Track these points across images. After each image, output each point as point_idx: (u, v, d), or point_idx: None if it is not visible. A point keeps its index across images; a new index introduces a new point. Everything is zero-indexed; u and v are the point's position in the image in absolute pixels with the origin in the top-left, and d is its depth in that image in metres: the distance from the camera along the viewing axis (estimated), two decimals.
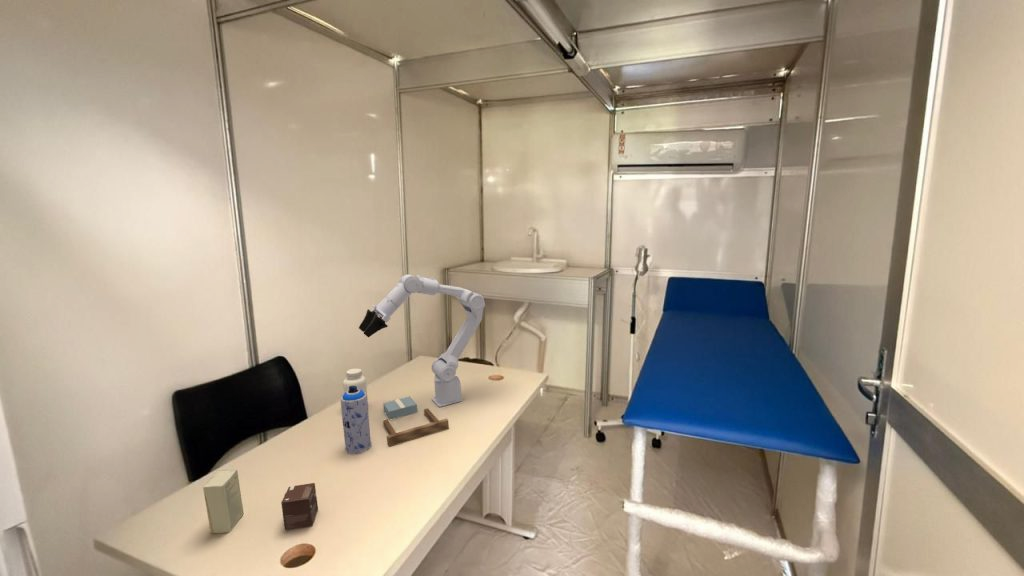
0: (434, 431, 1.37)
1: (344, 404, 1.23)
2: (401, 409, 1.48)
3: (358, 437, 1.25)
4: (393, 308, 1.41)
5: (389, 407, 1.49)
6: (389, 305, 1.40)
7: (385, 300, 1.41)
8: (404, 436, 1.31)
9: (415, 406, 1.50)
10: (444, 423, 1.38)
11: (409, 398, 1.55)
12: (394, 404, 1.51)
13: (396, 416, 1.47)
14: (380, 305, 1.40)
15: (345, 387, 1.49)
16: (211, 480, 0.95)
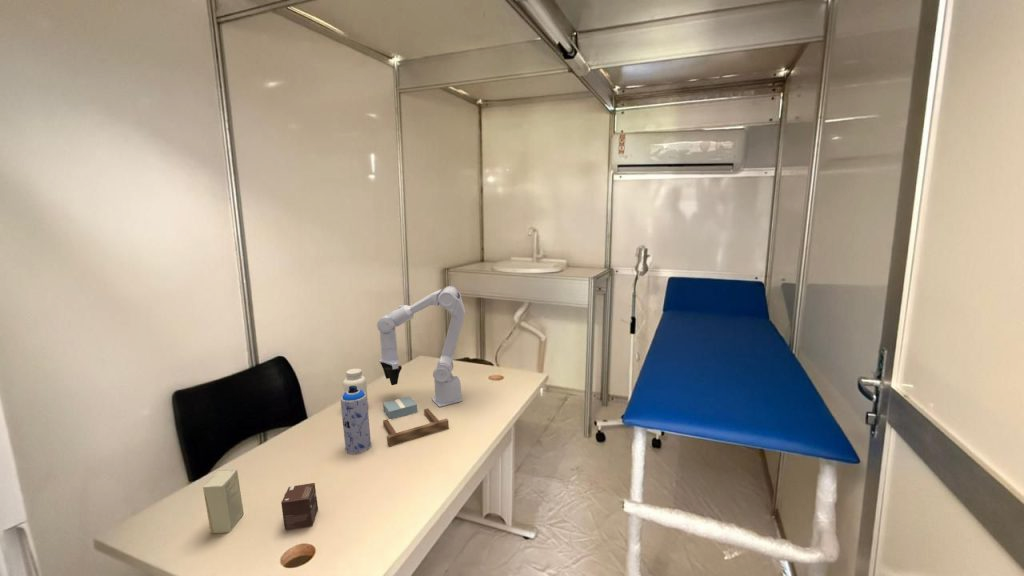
0: (434, 431, 1.37)
1: (344, 404, 1.23)
2: (401, 409, 1.48)
3: (358, 437, 1.25)
4: (393, 351, 1.54)
5: (389, 407, 1.49)
6: (389, 353, 1.53)
7: (383, 351, 1.54)
8: (404, 436, 1.31)
9: (415, 406, 1.50)
10: (444, 423, 1.38)
11: (409, 398, 1.55)
12: (394, 404, 1.51)
13: (396, 416, 1.47)
14: (383, 357, 1.54)
15: (345, 387, 1.49)
16: (211, 480, 0.95)
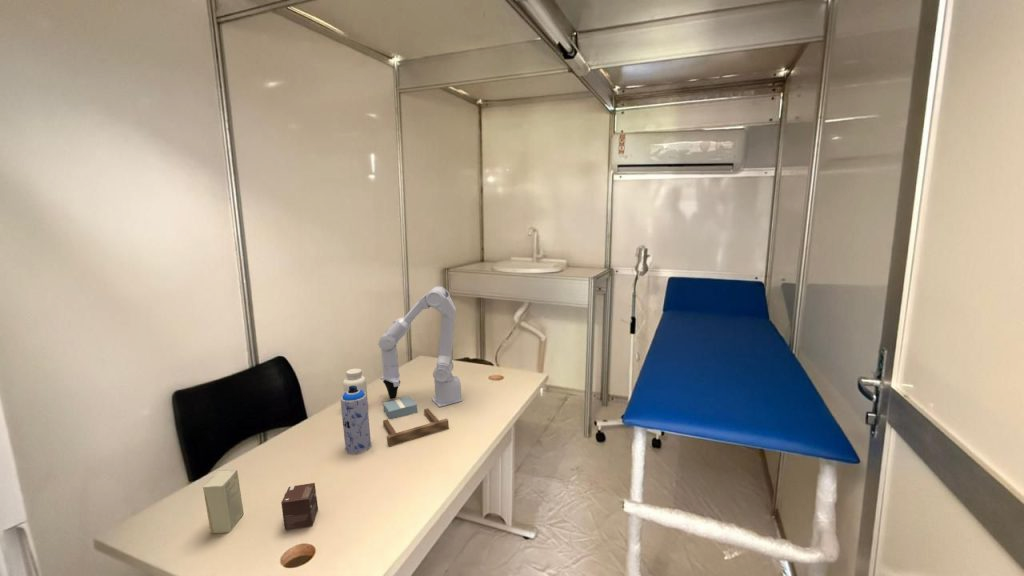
0: (434, 431, 1.37)
1: (344, 404, 1.23)
2: (401, 409, 1.48)
3: (358, 437, 1.25)
4: (395, 368, 1.55)
5: (389, 407, 1.49)
6: (390, 370, 1.55)
7: (384, 368, 1.55)
8: (404, 436, 1.31)
9: (415, 406, 1.50)
10: (444, 423, 1.38)
11: (409, 398, 1.55)
12: (394, 404, 1.51)
13: (396, 416, 1.47)
14: (384, 374, 1.55)
15: (345, 387, 1.49)
16: (211, 480, 0.95)
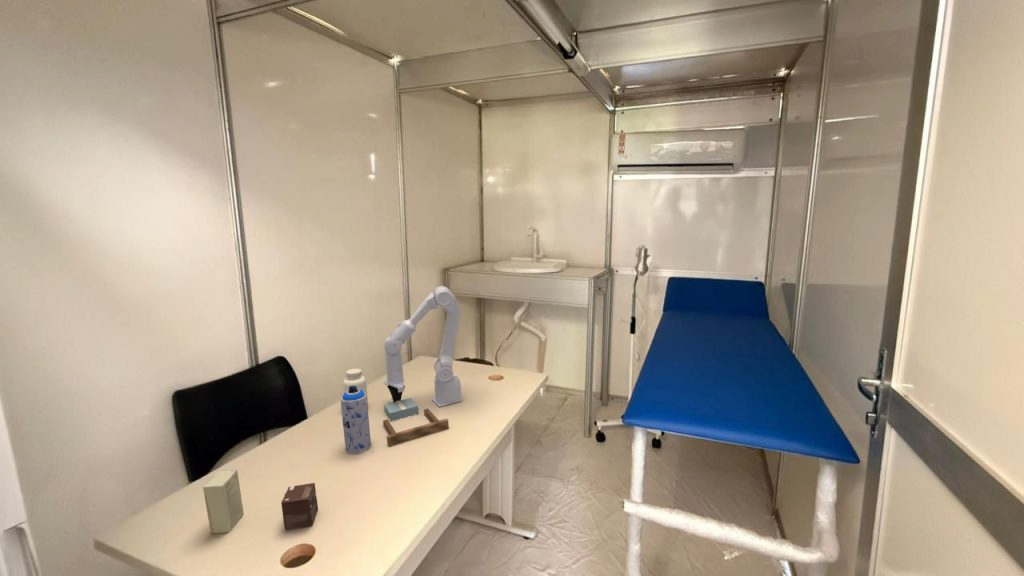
0: (434, 431, 1.37)
1: (344, 404, 1.23)
2: (402, 411, 1.47)
3: (358, 437, 1.25)
4: (399, 373, 1.51)
5: (390, 408, 1.48)
6: (394, 375, 1.50)
7: (388, 373, 1.50)
8: (404, 436, 1.31)
9: (416, 408, 1.49)
10: (444, 423, 1.38)
11: (410, 399, 1.54)
12: (395, 405, 1.50)
13: (397, 418, 1.46)
14: (389, 379, 1.51)
15: (345, 387, 1.49)
16: (211, 480, 0.95)
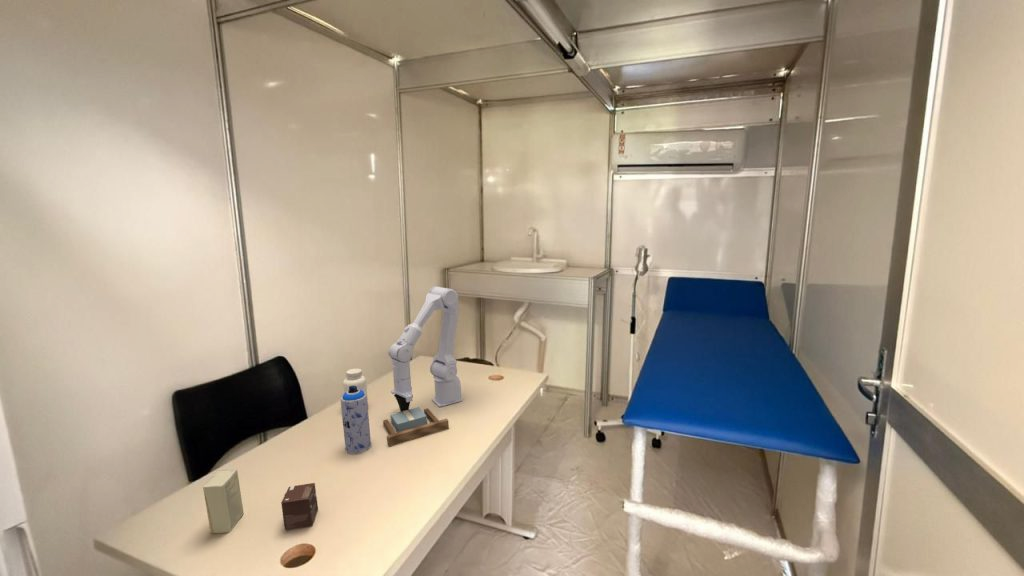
0: (434, 431, 1.37)
1: (344, 404, 1.23)
2: (410, 421, 1.39)
3: (358, 437, 1.25)
4: (407, 382, 1.43)
5: (397, 419, 1.40)
6: (402, 384, 1.42)
7: (396, 382, 1.42)
8: (404, 436, 1.31)
9: (425, 418, 1.41)
10: (444, 423, 1.38)
11: (418, 409, 1.46)
12: (402, 415, 1.42)
13: (405, 429, 1.38)
14: (396, 388, 1.43)
15: (345, 387, 1.49)
16: (211, 480, 0.95)
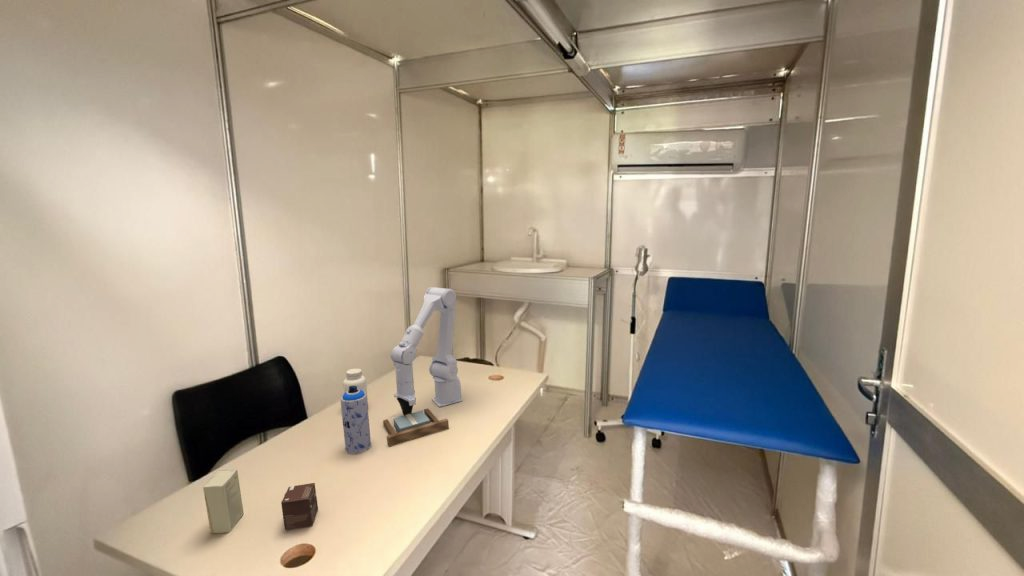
0: (434, 431, 1.37)
1: (344, 404, 1.23)
2: (413, 426, 1.36)
3: (358, 437, 1.25)
4: (410, 385, 1.40)
5: (400, 423, 1.37)
6: (405, 387, 1.39)
7: (398, 385, 1.40)
8: (404, 436, 1.31)
9: (428, 422, 1.39)
10: (444, 423, 1.38)
11: (421, 413, 1.44)
12: (405, 419, 1.39)
13: None
14: (399, 391, 1.40)
15: (345, 387, 1.49)
16: (211, 480, 0.95)
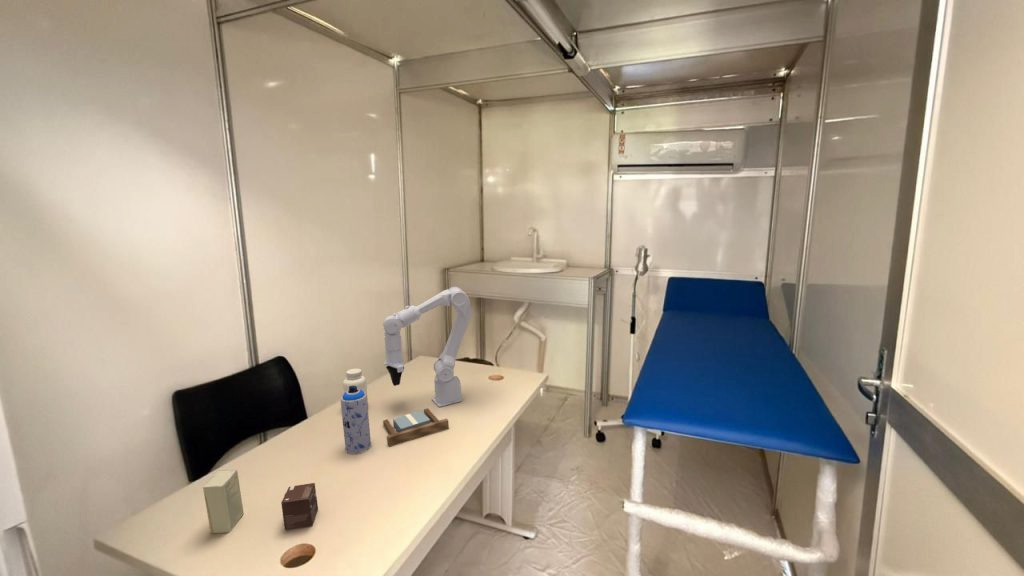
0: (434, 431, 1.37)
1: (344, 404, 1.23)
2: (414, 425, 1.36)
3: (358, 437, 1.25)
4: (398, 353, 1.49)
5: (400, 423, 1.37)
6: (394, 355, 1.48)
7: (387, 353, 1.48)
8: (404, 436, 1.31)
9: (428, 422, 1.39)
10: (444, 423, 1.38)
11: (421, 413, 1.44)
12: (405, 419, 1.39)
13: None
14: (388, 360, 1.48)
15: (345, 387, 1.49)
16: (211, 480, 0.95)
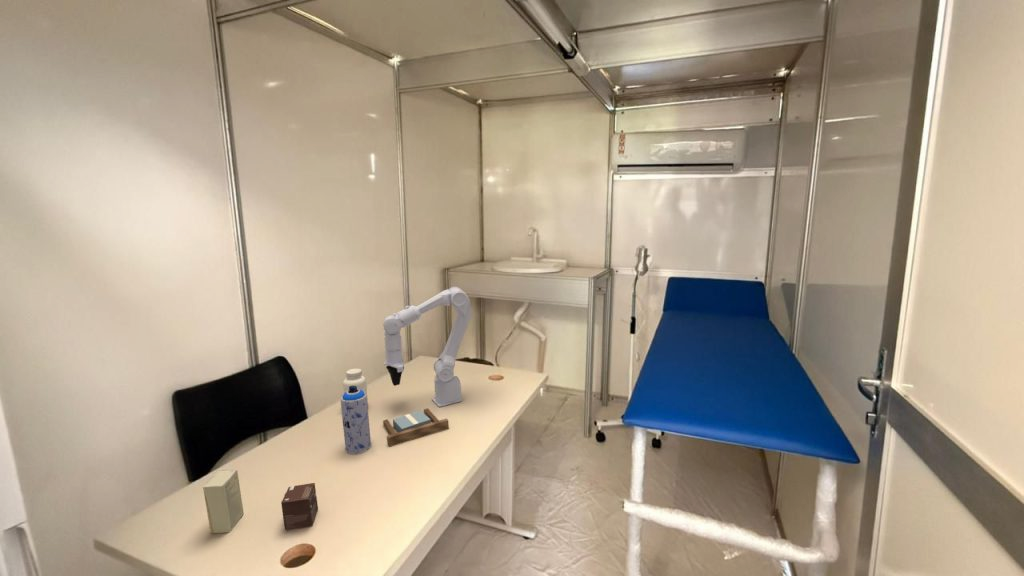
0: (434, 431, 1.37)
1: (344, 404, 1.23)
2: (414, 425, 1.36)
3: (358, 437, 1.25)
4: (398, 353, 1.49)
5: (400, 423, 1.37)
6: (394, 355, 1.48)
7: (387, 353, 1.48)
8: (404, 436, 1.31)
9: (429, 421, 1.39)
10: (444, 423, 1.38)
11: (420, 413, 1.44)
12: (405, 420, 1.39)
13: None
14: (388, 360, 1.48)
15: (345, 387, 1.49)
16: (211, 480, 0.95)
